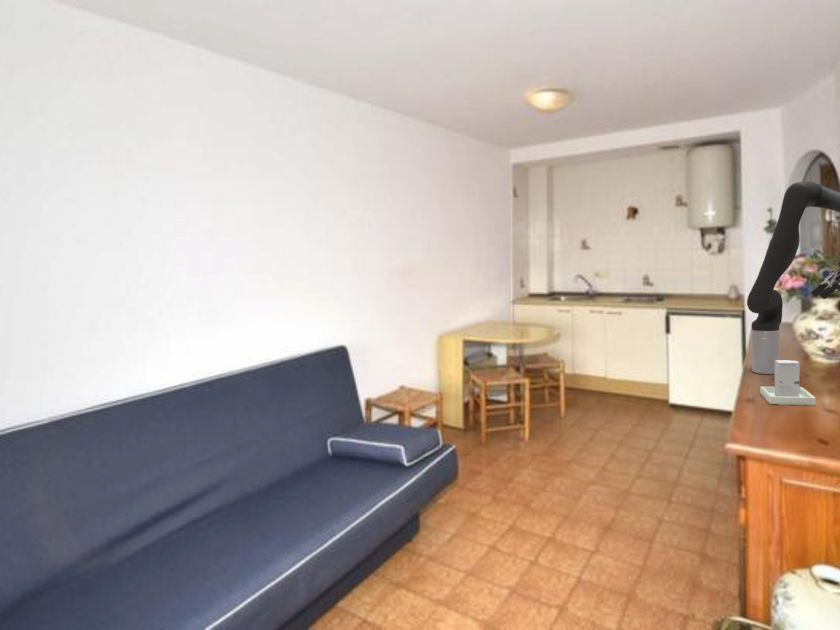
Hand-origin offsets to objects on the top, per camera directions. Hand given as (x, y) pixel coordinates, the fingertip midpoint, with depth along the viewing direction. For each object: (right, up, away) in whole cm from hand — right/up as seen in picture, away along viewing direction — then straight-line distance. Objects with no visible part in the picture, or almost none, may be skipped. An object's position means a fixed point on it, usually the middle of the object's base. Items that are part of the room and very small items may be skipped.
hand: (817, 296), depth 174 cm
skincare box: (-13, -34, -3) cm, 36 cm away
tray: (-13, -34, -4) cm, 37 cm away
